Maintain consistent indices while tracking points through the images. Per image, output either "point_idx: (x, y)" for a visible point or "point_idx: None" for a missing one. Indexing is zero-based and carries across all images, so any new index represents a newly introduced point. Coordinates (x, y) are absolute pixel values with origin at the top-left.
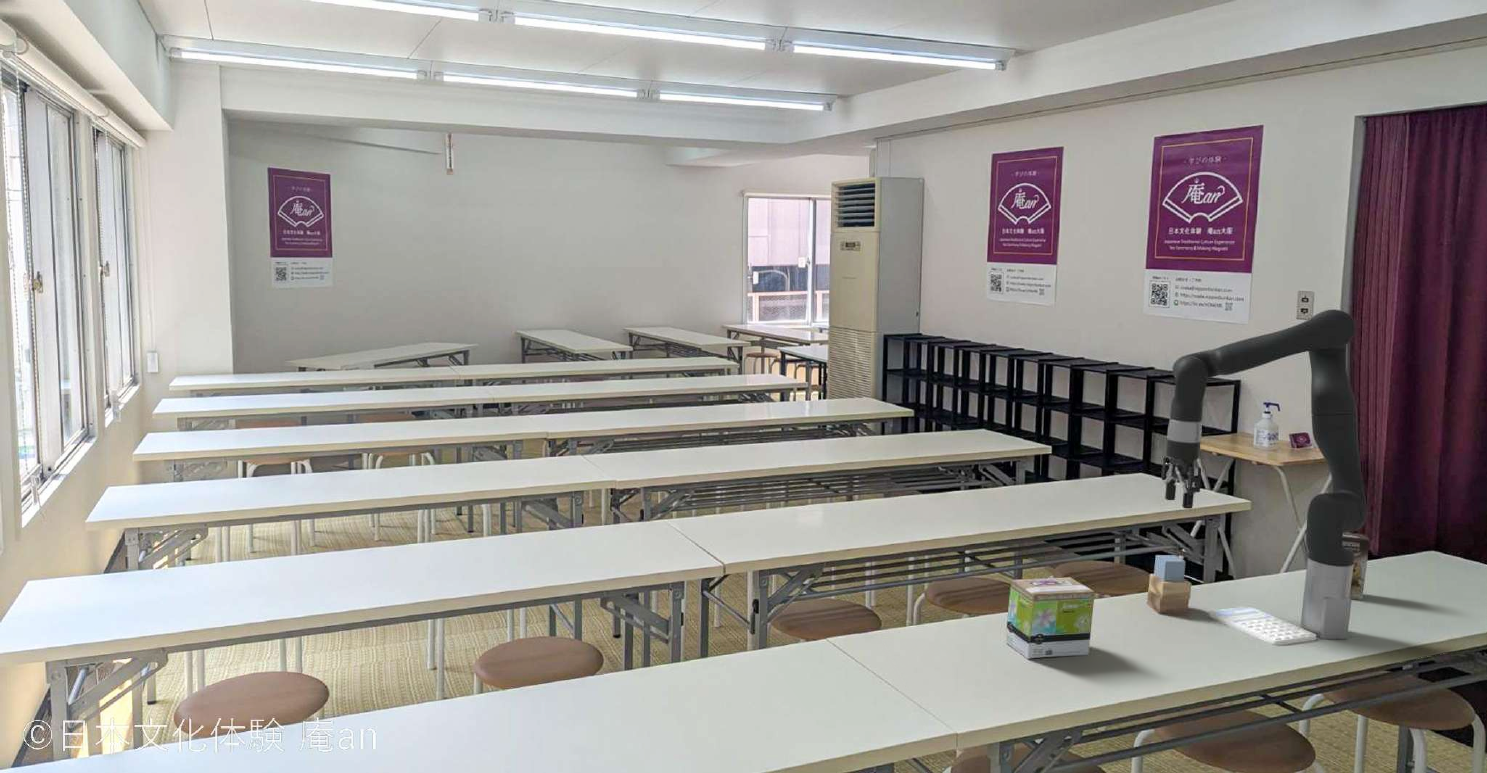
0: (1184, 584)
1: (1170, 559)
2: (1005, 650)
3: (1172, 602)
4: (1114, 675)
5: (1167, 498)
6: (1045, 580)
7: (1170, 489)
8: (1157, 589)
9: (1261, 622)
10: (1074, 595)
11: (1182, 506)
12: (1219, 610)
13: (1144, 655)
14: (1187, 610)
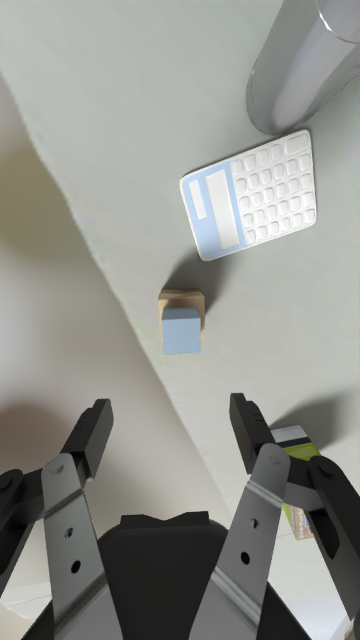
0: (204, 308)
1: (188, 339)
2: None
3: None
4: (341, 418)
5: (111, 422)
6: (305, 520)
7: (98, 450)
8: None
9: (250, 200)
10: None
11: (230, 419)
12: (197, 242)
13: (309, 383)
14: (199, 290)
